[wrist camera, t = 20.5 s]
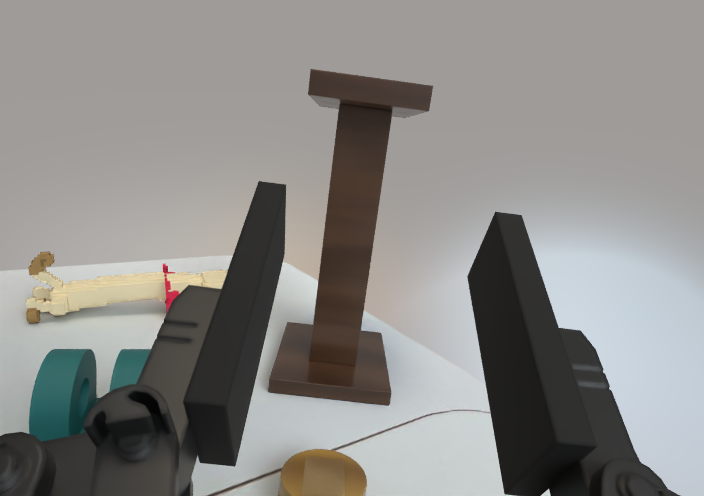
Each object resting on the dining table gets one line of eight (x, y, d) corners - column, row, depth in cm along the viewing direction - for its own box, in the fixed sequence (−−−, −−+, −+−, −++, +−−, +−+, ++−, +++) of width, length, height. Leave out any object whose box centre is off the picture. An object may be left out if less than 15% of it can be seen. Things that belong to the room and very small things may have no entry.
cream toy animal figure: (25, 343, 50) (254, 316, 60) (13, 267, 48) (254, 251, 58) (42, 308, 59) (240, 289, 69) (33, 242, 57) (239, 232, 66)
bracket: (65, 423, 37) (63, 333, 35) (155, 420, 39) (158, 334, 37) (-71, 677, 20) (-88, 530, 18) (100, 650, 22) (100, 514, 20)
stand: (390, 411, 45) (445, 87, 37) (266, 398, 44) (298, 67, 37) (379, 340, 60) (416, 101, 53) (287, 329, 60) (312, 86, 53)
